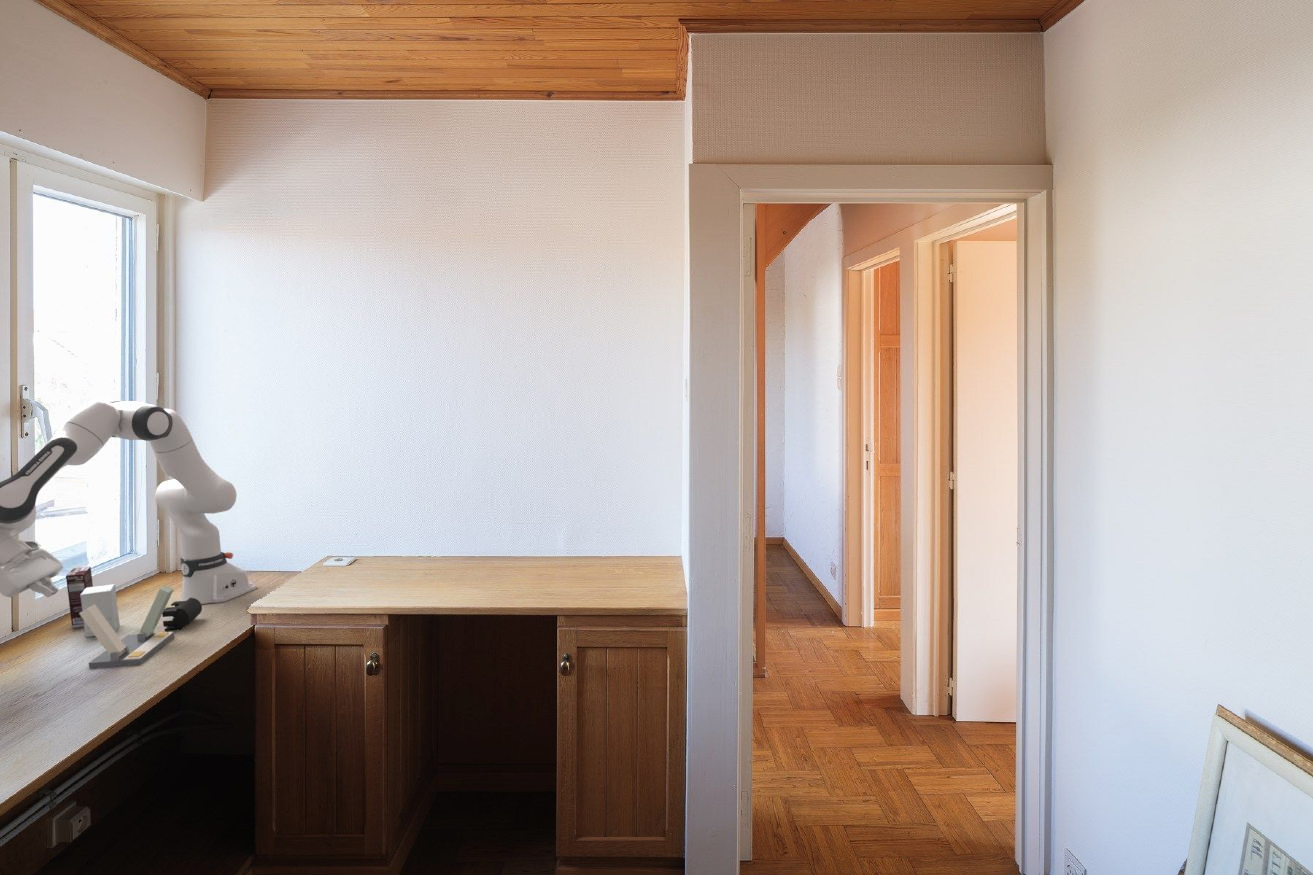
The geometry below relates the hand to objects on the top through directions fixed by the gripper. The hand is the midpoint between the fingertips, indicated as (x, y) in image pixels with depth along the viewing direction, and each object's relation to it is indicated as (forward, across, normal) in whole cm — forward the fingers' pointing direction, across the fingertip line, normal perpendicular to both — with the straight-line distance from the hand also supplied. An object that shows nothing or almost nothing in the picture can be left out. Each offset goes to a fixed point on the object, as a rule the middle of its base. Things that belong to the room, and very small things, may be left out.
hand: (53, 593), depth 207 cm
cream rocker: (+22, 0, +2) cm, 22 cm away
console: (+23, +7, +4) cm, 25 cm away
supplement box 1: (+5, +35, +23) cm, 42 cm away
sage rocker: (+22, +14, +2) cm, 26 cm away
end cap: (+27, +27, +1) cm, 38 cm away
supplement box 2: (+11, +26, +16) cm, 33 cm away
